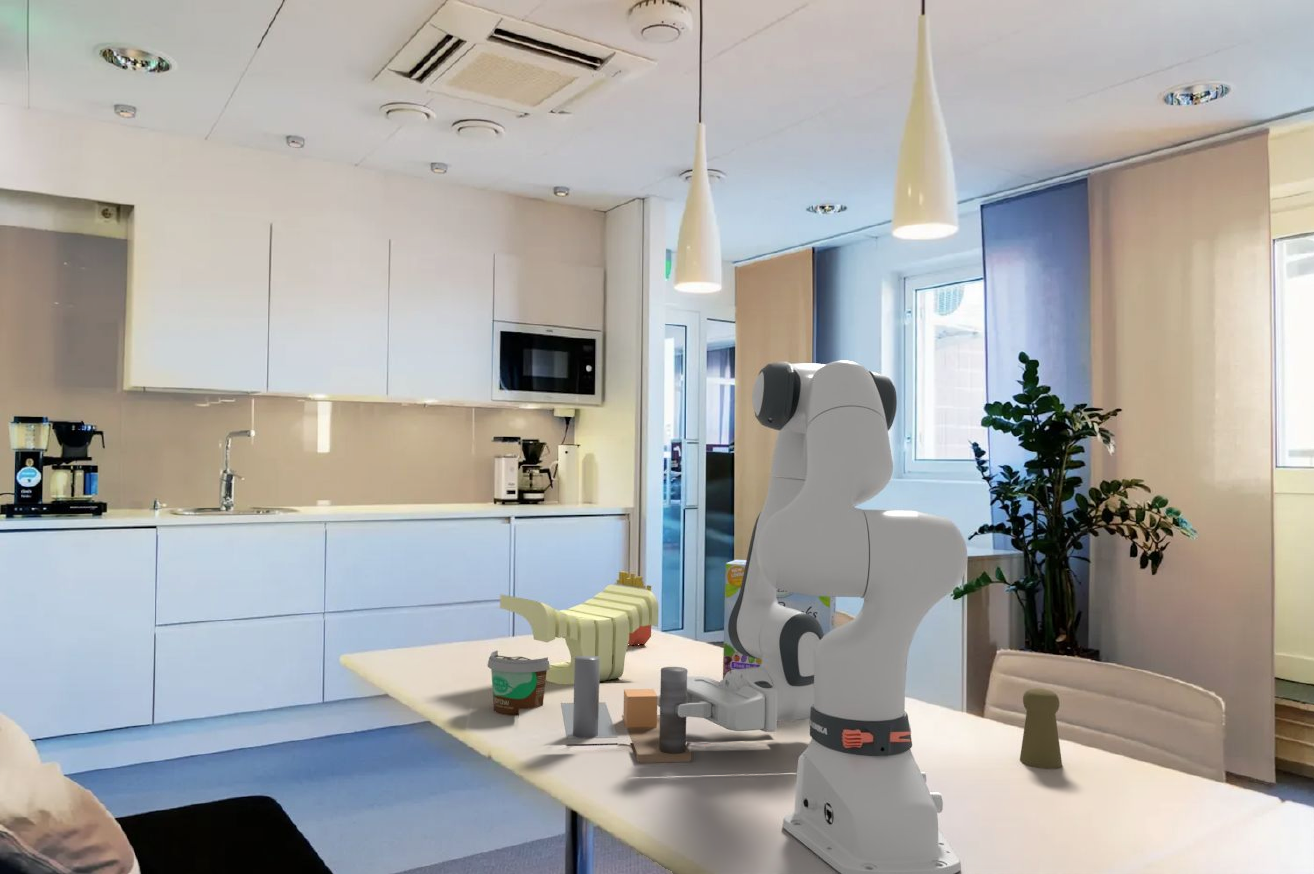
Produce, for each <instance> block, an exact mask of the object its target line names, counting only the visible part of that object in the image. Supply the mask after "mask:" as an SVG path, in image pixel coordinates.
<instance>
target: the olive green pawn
mask: <svg viewBox="0 0 1314 874" xmlns="http://www.w3.org/2000/svg"><path fill="white" fill-rule="evenodd" d="M1022 703H1023V707H1024V708H1025V710H1026V714H1025V720H1024V728H1023V735H1022V741H1021V749H1020V756H1019V762H1021V763H1022V764H1024V765H1026V766H1030V767H1034V768H1038V769H1046V770H1048V769H1050V770H1051V769H1054V770H1055V769H1060V768H1062V767H1063V760H1062V753H1061V746H1060V739H1059V731H1058V723H1057V715H1056V713H1057V712H1058V711H1059V708H1060V699H1059V696H1058V695H1057V693H1055V692H1054V691H1051V690H1049V689H1044V688H1030V689H1028V690H1025V692H1024V693H1023V696H1022Z"/></svg>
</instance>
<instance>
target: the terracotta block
mask: <svg viewBox="0 0 1314 874" xmlns="http://www.w3.org/2000/svg"><path fill="white" fill-rule="evenodd" d="M658 696H659V695H658V694H657V693H656V691H655V689H654V688H644V689H642V688H641V689H640V688H635V689H630V688H629V689H628V688H627V689H626V688H625V689H623V711H622V712H623V713H622V715H623V718H622V720H623V722H625V723H624V724H625V727H626V728H627V727H657V715H658V705H657V698H658Z"/></svg>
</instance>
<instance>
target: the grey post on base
mask: <svg viewBox="0 0 1314 874" xmlns="http://www.w3.org/2000/svg"><path fill="white" fill-rule="evenodd" d="M599 673H600V658H599V657H597V656H577V657H575V669H574V684H573V702H561V703H560V704H561V711H562V717H563V723H564V729H565V735H566V739H569V740H570V739H607V738H613V739H614V738H615V739H616V738H617V739H618V738H619V736H618V733H617V731H616V728H615V725H614V723H613V719H612V717H611V714H610V712H609V708H608V705H607V704H606V701H605V702H603V701H602V702H600V681H599ZM618 745H619V744H618V742H614V743H612V742H610V743H609V742H608V743H569V744H567V743H566V747H577V746H578V747H581V746H582V747H584V746H589V747H590V746H618Z"/></svg>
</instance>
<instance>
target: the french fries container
mask: <svg viewBox="0 0 1314 874" xmlns="http://www.w3.org/2000/svg"><path fill="white" fill-rule="evenodd" d="M635 575H636V573H634V572H633V573H631V572H630V573H629V572H627V571H624V570H623V571H622V570H621V571H620V570H619V571H618V579H616V582H615V583H614V585H617V586H624V587H630V588H637V589H644V590H649V591H651V592H652V585H644V580H643V576H636V577H635ZM629 576H630V577H629ZM651 637H652V626H651V625H648V626H639V628H638V629H636V630H635V631H634V632H633V633H629V642H628V644H629V645H628V646H630V645H636V646H639V645H638V644H645V645H646V644H647V643H648V641H649V640H650V638H651Z"/></svg>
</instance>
